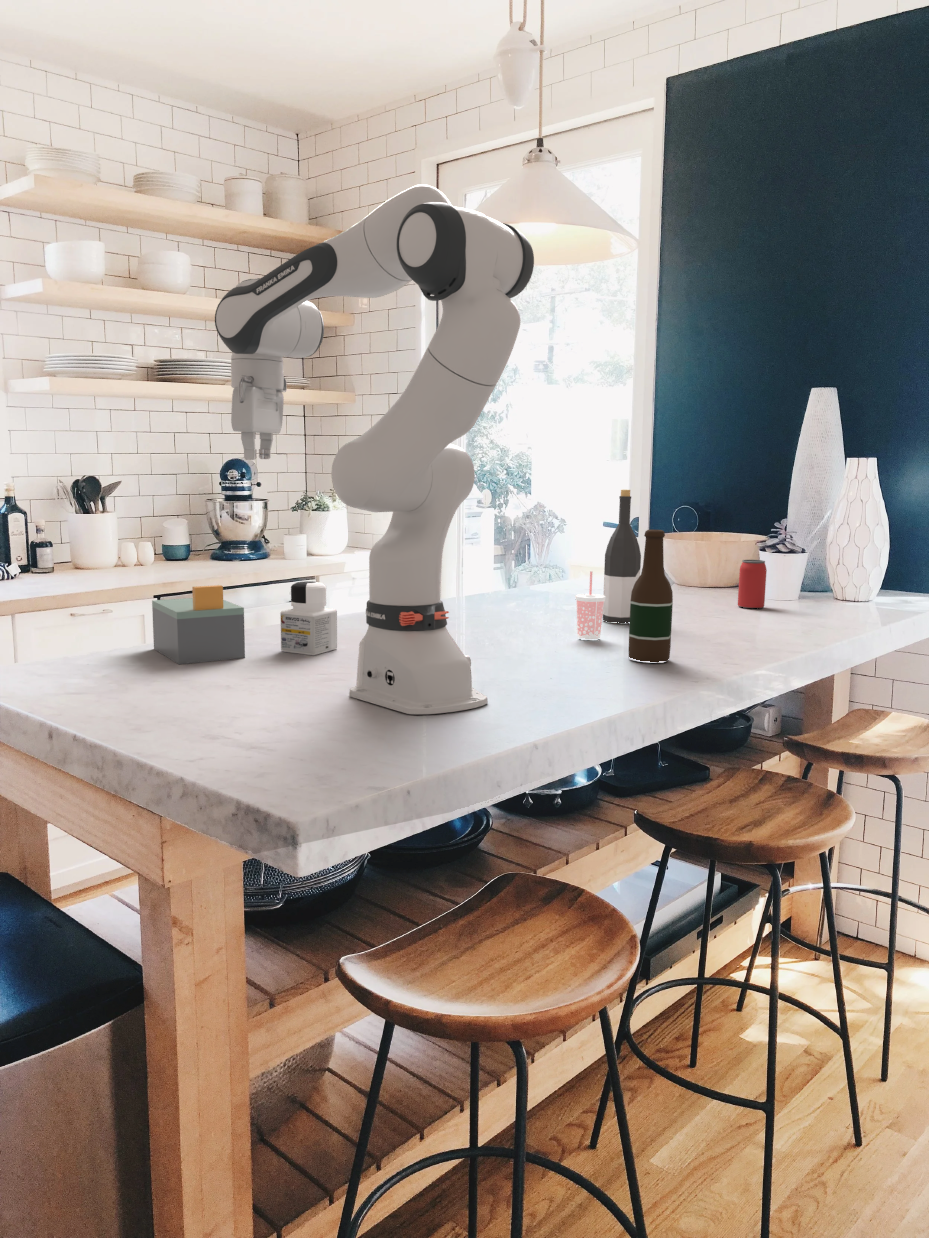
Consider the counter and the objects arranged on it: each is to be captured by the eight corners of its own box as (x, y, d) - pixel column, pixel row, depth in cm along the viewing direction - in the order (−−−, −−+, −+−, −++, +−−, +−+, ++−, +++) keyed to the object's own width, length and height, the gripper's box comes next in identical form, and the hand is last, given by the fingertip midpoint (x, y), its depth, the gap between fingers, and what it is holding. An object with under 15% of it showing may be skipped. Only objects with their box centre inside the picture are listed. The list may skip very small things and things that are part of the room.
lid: (244, 618, 173) (243, 585, 172) (177, 623, 167) (176, 589, 166) (215, 606, 186) (214, 575, 185) (152, 611, 180) (151, 579, 179)
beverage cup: (595, 635, 202) (598, 569, 200) (609, 641, 196) (611, 572, 194) (569, 637, 200) (571, 570, 198) (581, 642, 194) (584, 573, 192)
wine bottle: (602, 618, 225) (607, 488, 221) (637, 619, 224) (643, 489, 219) (602, 623, 218) (607, 489, 213) (638, 624, 216) (644, 490, 212)
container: (280, 651, 180) (279, 582, 178) (305, 645, 187) (304, 578, 185) (313, 656, 177) (312, 585, 175) (338, 649, 184) (337, 581, 182)
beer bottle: (619, 659, 178) (624, 529, 174) (642, 654, 183) (648, 527, 179) (655, 666, 172) (662, 532, 168) (678, 660, 178) (685, 530, 174)
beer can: (738, 608, 243) (741, 561, 241) (736, 605, 250) (738, 559, 248) (765, 609, 242) (769, 562, 240) (762, 606, 248) (765, 559, 247)
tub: (244, 657, 174) (243, 614, 173) (178, 664, 168) (177, 619, 167) (216, 643, 188) (215, 602, 186) (153, 648, 181) (152, 606, 180)
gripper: (259, 374, 156) (259, 460, 159) (289, 383, 176) (289, 459, 179) (221, 373, 157) (222, 459, 159) (255, 382, 177) (255, 458, 179)
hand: (257, 459), depth 169 cm, fingers open, 8 cm apart
